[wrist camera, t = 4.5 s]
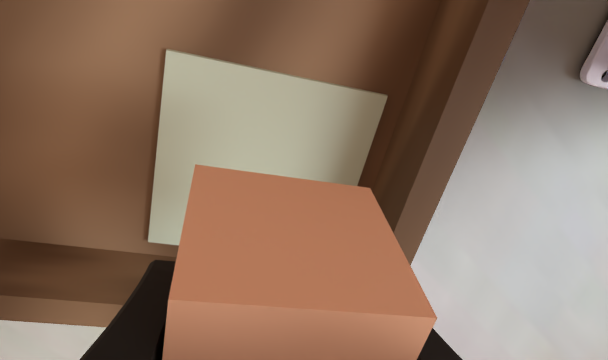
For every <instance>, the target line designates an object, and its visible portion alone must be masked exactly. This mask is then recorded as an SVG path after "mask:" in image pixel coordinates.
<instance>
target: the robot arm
mask: <svg viewBox="0 0 608 360" xmlns="http://www.w3.org/2000/svg"><path fill="white" fill-rule="evenodd" d="M605 71H607V73H606V75H605V76H604V77H603V78H602V79H601V77H602V74H603V73H604V72H605ZM580 79H581V81H583V82H584V83H587V84H589V85H592V86H596V87H600V88H604V89H608V20H607V22H606V24H605V26H604V28H603V30H602V32H601V33H600V35H599V37H598V39H597V41H596V43H595V45H594V46H593V48H592V50H591V52H590V54H589V56H588V58H587V59H586V61H585V63H584V65H583V67H582V69H581V72H580ZM175 263H176V261H165V260H154V261H152V262H151V263H150V264H149V266H148V268H147V270H146V272H145V273H144V275H143V277H142V279H141V280H140V282H139V283H138V285H137V286H136V288H135V290H134V291H133V292H132V294H131V295H130V297H129V298H128V300H127V301H126V303H125V304H124V305H123V307H122V308H121V309H120V311H119V312H118V313H117V315H116V316H115V317H114V319H113V320H112V321H111V322H110V324H109V325H108V326H107V328H106V329H105V330H104V331H103V333H102V334H101V335H100V336H99V337H98V339H97V340H96V341H95V342H94V343H93V345H92V346H91V347H90V348H89V349H88V350H87V352H86V353H85V354H84V355H83V356H82V357H81V359H80V360H162V357H163V347H164V337H165V327H166V317H167V307H168V299H169V294H170V289H171V284H172V278H173V273H174V268H175ZM417 360H462V359H461V358H460V357H459V356H458V355H457V354H456V353H455V352H454V351H453V350H452V348H451V347H450V346H449V345H448V344H447V343H446V342H445V341H444V340H443V339H442V338H441V337H440V336H439V335H438V333H437V332H436V331H435V330H434V329H433V328H432V330H431V332H430V334H429V336H428V338H427V340H426V342H425V344H424V346H423V348H422V350H421V352H420V354H419V356H418V358H417Z"/></svg>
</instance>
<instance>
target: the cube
mask: <svg viewBox="0 0 608 360" xmlns="http://www.w3.org/2000/svg"><path fill="white" fill-rule="evenodd" d="M436 319H437V317H436V315H435V313H434V311H433V309H432V307H431V305H430V303H429V301H428V299H427V298H426V296H425V294H424V292H423V290H422V288H421V286H420V284H419V282H418V280H417V278H416V276H415V274H414V272H413V270H412V268H411V266H410V264H409V263H408V261H407V259H406V257H405V255H404V253H403V251H402V249H401V247H400V245H399V243H398V241H397V239H396V237H395V235H394V233H393V231H392V230H391V228H390V226H389V224H388V222H387V220H386V218H385V216H384V214H383V212H382V210H381V208H380V206H379V204H378V202H377V200H376V198H375V196H374V195H373V193H372V191H371V189H370V188H366V187H359V186H352V185H344V184H337V183H330V182H322V181H315V180H307V179H300V178H293V177H285V176H278V175H270V174H263V173H256V172H248V171H241V170H233V169H226V168H219V167H211V166H204V165H197V164H195V168H194V173H193V178H192V183H191V188H190V193H189V198H188V203H187V208H186V213H185V218H184V223H183V228H182V233H181V238H180V243H179V248H178V253H177V258H176V263H175V268H174V273H173V278H172V284H171V289H170V294H169V299H168V307H167V317H166V327H165V337H164V347H163V357H162V360H417V358H418V356H419V354H420V352H421V350H422V348H423V346H424V344H425V342H426V340H427V338H428V336H429V334H430V332H431V330H432V328H433V325H434V323H435V321H436Z"/></svg>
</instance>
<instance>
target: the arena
mask: <svg viewBox="0 0 608 360" xmlns="http://www.w3.org/2000/svg"><path fill="white" fill-rule="evenodd" d="M529 1H530V0H0V320H9V321H24V322H38V323H53V324H67V325H82V326H96V327H107V326H108V325H109V324H110V322H111V321H112V320H113V319H114V317H115V316H116V315H117V313H118V312H119V311H120V309H121V308H122V307H123V305H124V304H125V303H126V301H127V300H128V298H129V297H130V295H131V294H132V292H133V291H134V290H135V288H136V286H137V285H138V283H139V282H140V280H141V279H142V277H143V275H144V273H145V272H146V270H147V268H148V266H149V264H150V263H151V262H152V261H154V260H165V261H176V258H177V253H178V248H179V243H180V238H181V233H182V228H183V223H184V218H185V213H186V208H187V203H188V198H189V193H190V188H191V183H192V178H193V173H194V168H195V164H197V165H204V166H211V167H219V168H226V169H233V170H241V171H248V172H256V173H263V174H270V175H278V176H285V177H293V178H300V179H307V180H315V181H322V182H330V183H337V184H344V185H352V186H359V187H366V188H370V189H371V191H372V193H373V195H374V196H375V198H376V200H377V202H378V204H379V206H380V208H381V210H382V212H383V214H384V216H385V218H386V220H387V222H388V224H389V226H390V228H391V230H392V231H393V233H394V235H395V237H396V239H397V241H398V243H399V245H400V247H401V249H402V251H403V253H404V255H405V257H406V259H407V261H408V263H409V264H410V265H411V263H412V261H413V258H414V256H415V254H416V252H417V250H418V247H419V245H420V243H421V241H422V238H423V236H424V234H425V232H426V230H427V227H428V225H429V223H430V221H431V218H432V216H433V214H434V212H435V210H436V207H437V205H438V203H439V201H440V198H441V196H442V194H443V192H444V190H445V187H446V185H447V183H448V181H449V179H450V176H451V174H452V172H453V170H454V167H455V165H456V163H457V161H458V159H459V156H460V154H461V152H462V150H463V147H464V145H465V143H466V141H467V139H468V136H469V134H470V132H471V130H472V127H473V125H474V123H475V121H476V119H477V116H478V114H479V112H480V110H481V108H482V105H483V103H484V101H485V99H486V96H487V94H488V92H489V90H490V88H491V85H492V83H493V81H494V79H495V76H496V74H497V72H498V70H499V68H500V65H501V63H502V61H503V59H504V56H505V54H506V52H507V50H508V48H509V45H510V43H511V41H512V39H513V37H514V34H515V32H516V30H517V28H518V25H519V23H520V21H521V19H522V17H523V14H524V12H525V10H526V8H527V5H528V3H529Z"/></svg>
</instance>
